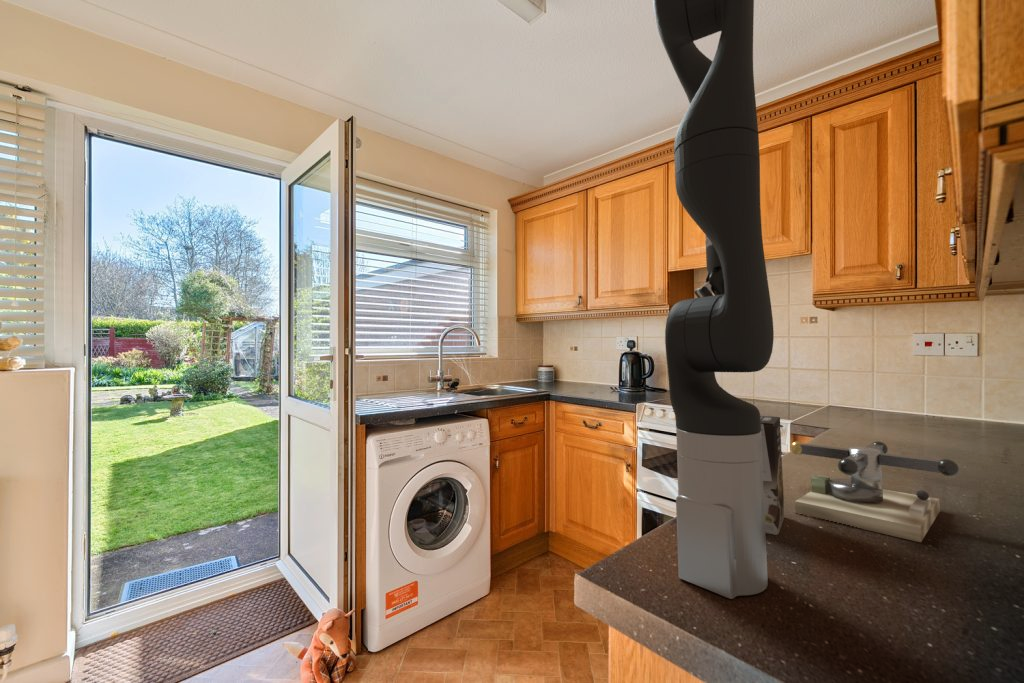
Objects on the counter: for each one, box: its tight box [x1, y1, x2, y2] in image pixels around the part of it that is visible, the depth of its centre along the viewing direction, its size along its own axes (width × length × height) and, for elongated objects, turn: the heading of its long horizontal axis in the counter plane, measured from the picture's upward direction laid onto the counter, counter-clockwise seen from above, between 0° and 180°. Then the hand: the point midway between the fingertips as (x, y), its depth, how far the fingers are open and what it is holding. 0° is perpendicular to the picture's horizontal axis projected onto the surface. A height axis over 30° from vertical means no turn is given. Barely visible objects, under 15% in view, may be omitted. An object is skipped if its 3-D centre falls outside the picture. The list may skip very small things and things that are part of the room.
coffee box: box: [760, 415, 785, 536], centre depth 68 cm, size 9×6×16 cm
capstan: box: [789, 440, 960, 502], centre depth 71 cm, size 22×22×8 cm
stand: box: [794, 474, 941, 543], centre depth 70 cm, size 18×15×4 cm
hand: (732, 339), depth 78 cm, fingers closed
